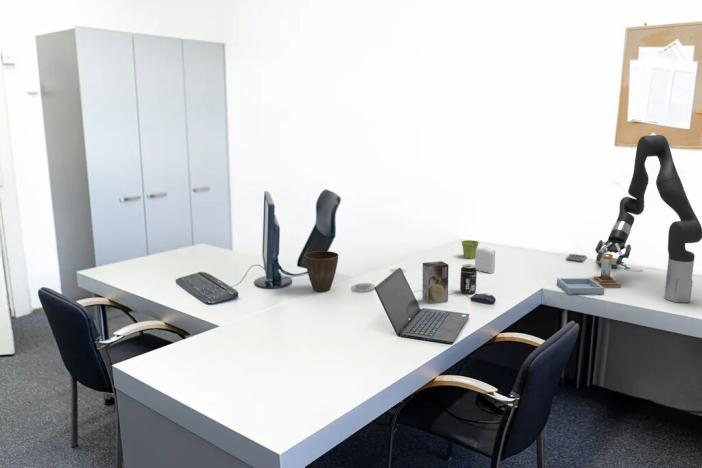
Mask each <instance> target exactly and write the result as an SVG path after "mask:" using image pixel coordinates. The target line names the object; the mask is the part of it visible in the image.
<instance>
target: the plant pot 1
mask: <svg viewBox="0 0 702 468" xmlns="http://www.w3.org/2000/svg"><path fill="white" fill-rule="evenodd" d="M304 261H305V262H304V263H305V266H306V271H307V275H308V278H309V279H308V280H309V281H310V284H311V287H312V291H314V292H317V293H318V292H319V293H325V292H329V291H330V290H331V288H332V285H333V282H334V281H335V280H334V279H335V275H336V272H337V268H338V261H339V253H337V252H335V251H330V250H315V251H310V252H307V253H305V254H304Z"/></svg>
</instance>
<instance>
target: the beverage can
mask: <svg viewBox="0 0 702 468" xmlns="http://www.w3.org/2000/svg"><path fill="white" fill-rule="evenodd" d="M477 271H478V270H477V269H476V268H475V264H472V263H465V264H462V266H461V268H460V282H459V286H460V287H459V291H461V292H462V294H467V295H471V294H474V293H476V292H477V278H478V277H477V275H478V273H477Z"/></svg>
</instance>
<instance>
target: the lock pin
mask: <svg viewBox="0 0 702 468" xmlns="http://www.w3.org/2000/svg"><path fill="white" fill-rule="evenodd" d="M613 256H614V255H613V254H612V253H604V254H602V257H601V266H600V268H601V269H600V275H599V276H600V279H601V280H610V277H611V273H612V272H611V270H612V261H613Z"/></svg>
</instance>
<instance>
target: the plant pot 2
mask: <svg viewBox="0 0 702 468" xmlns="http://www.w3.org/2000/svg"><path fill="white" fill-rule="evenodd" d="M460 243H461V245H462V252H463V258H464V259H470V260H473V259H474V260H475V254H476V248H477V247H479V243H480V242H479V240H472V239H471V240H469V239H468V240H462V241H461V242H460Z"/></svg>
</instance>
